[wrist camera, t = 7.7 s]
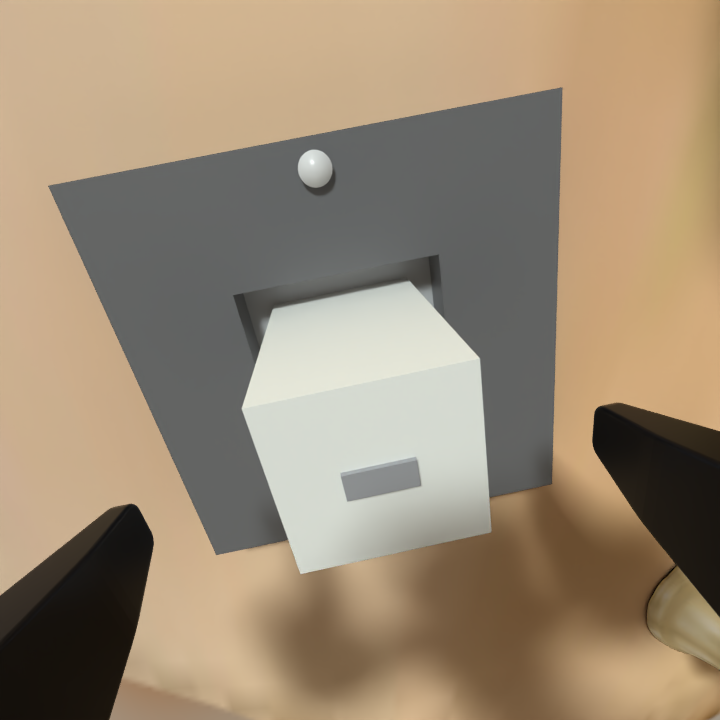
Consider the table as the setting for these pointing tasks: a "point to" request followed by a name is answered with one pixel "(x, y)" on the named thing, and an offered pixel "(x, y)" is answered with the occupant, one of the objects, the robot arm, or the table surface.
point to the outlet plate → (331, 276)
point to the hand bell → (684, 619)
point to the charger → (369, 425)
